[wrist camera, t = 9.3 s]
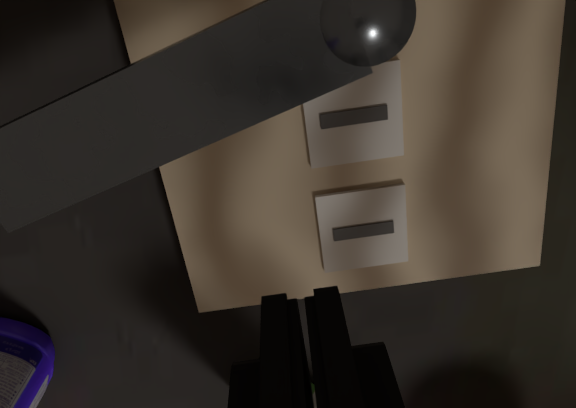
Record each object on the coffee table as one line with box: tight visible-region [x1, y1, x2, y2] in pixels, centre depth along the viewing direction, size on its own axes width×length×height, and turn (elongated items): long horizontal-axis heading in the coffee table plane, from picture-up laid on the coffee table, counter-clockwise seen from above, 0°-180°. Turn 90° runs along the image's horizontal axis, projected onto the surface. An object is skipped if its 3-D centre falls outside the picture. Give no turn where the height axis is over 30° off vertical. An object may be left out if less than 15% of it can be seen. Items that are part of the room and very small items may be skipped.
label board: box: [114, 0, 565, 313], centre depth 26 cm, size 22×19×6 cm
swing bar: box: [0, 0, 416, 233], centre depth 20 cm, size 4×19×2 cm, turn 113°
